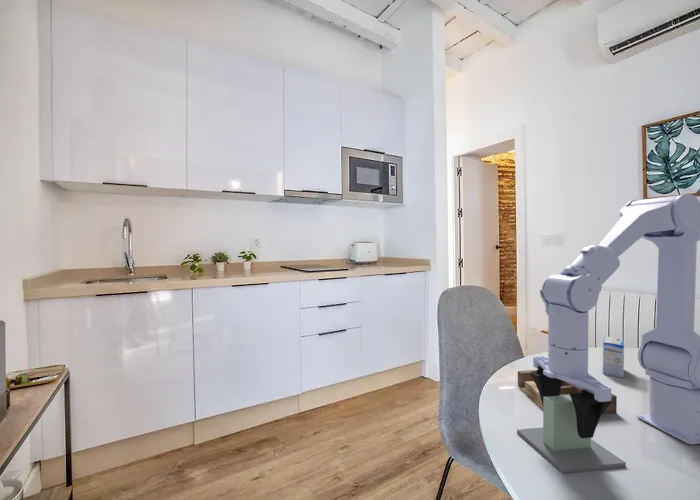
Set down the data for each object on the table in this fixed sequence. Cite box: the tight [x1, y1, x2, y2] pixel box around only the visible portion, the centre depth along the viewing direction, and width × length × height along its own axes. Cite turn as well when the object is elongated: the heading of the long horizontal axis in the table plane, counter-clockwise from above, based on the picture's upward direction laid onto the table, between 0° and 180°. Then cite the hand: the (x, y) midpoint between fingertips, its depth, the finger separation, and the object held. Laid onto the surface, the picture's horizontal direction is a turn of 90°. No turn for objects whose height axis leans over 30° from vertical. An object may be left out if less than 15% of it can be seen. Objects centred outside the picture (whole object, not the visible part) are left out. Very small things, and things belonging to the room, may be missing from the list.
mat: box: [516, 426, 627, 474], centre depth 57 cm, size 11×11×1 cm
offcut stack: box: [520, 381, 543, 410], centre depth 74 cm, size 11×2×3 cm, turn 178°
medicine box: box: [602, 336, 625, 378], centre depth 91 cm, size 8×4×9 cm, turn 141°
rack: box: [517, 369, 618, 415], centre depth 76 cm, size 16×12×4 cm
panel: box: [542, 394, 592, 451], centre depth 57 cm, size 2×7×8 cm, turn 98°
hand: (567, 423), depth 57 cm, fingers open, 7 cm apart
